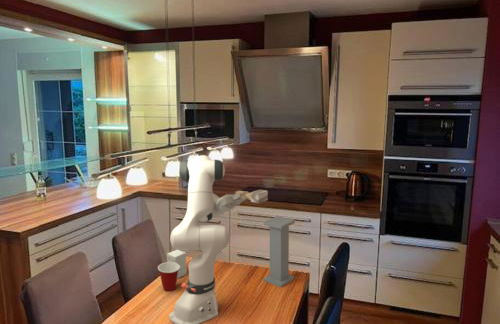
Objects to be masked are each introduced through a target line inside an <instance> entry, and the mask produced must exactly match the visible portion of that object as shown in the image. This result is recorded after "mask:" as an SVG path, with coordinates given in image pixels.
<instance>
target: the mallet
mask: <svg viewBox="0 0 500 324" xmlns="http://www.w3.org/2000/svg"><path fill="white" fill-rule="evenodd" d="M240 193H241V195H242V196H241V197H239V198H244V199H246V200H249V201H250V202H251V203H254V204H261V203H263V202H267V201H268V200H269V199H268V198H269V197H268V195H269V191H268V190H264V189H258V190H254V191H252V192H249V191H247V192H246V191H244V190H237V191H235V194H236V195H237V194H240Z"/></svg>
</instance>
